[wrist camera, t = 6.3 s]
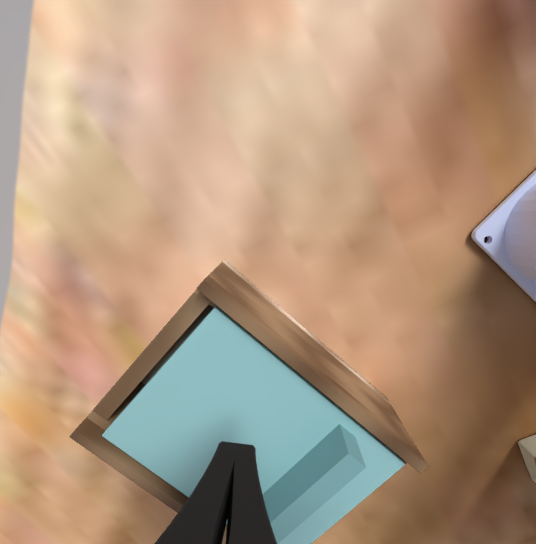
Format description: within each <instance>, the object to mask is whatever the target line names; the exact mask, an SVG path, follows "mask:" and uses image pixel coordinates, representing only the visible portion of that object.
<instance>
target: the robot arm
mask: <svg viewBox="0 0 536 544" xmlns="http://www.w3.org/2000/svg"><path fill="white" fill-rule="evenodd" d="M471 236H472V239H473V240H474V241H475V242H476V243H477V244H478V245H479V246H480V247H481V248H482V249H483V250H484V251H485V252H486V253H487V254H488V255H489V256H490V257H491V258H492V259H493V260H494V261H495V262H496V263H497V264H498V265H499V266H500V267H501V268H502V269H503V270H504V271H505V272H506V273H507V274H508V275H509V276H510V277H511V278H512V279H513V280H514V281H515V282H516V283H517V284H518V285H519V286H520V287H521V288H522V289H523V290H524V291H525V292H526V293H527V294H528V295H529V296H530V297H531V298H532V299H533V300H534V301H535V302H536V170H535V171H534V172H533V173H532V174H531V175H530V176H529V177H528V178H527V179H525V180H524V181H523V182H522V183H521V184H520V185H519V186H518V187H517V188H516V189H515V190H514V191H513V192H512V193H511V194H510V195H509V196H508V197H507V198H506V199H505V200H504V201H503V202H502V203H501V204H500V205H499V206H498V207H497V208H496V209H495V210H494V211H493V212H492V213H490V214H489V215H488V216H487V217H486V218H485V219H484V220H483V221H482V222H481V223H480V224H479V225H478V226H477V227H476V228H475V229H474V230H473V232H472V235H471ZM485 237H487V238H488V240H487V242H486V243H484V238H485ZM226 523H227V532H226V544H277V542H276V539H275V536H274V533H273V530H272V527H271V523H270V520H269V517H268V513H267V510H266V506H265V502H264V498H263V494H262V490H261V486H260V481H259V476H258V470H257V463H256V448H255V447H254V446H253V445H248V444H240V443H233V442H225V441H222V442H220V443H219V444H218V447H217V449H216V452H215V454H214V456H213V458H212V460H211V462H210V464H209V465H208V467H207V469H206V471H205V473H204V474H203V476H202V478H201V479H200V481H199V482H198V484H197V486H196V487H195V489H194V491H193V492H192V494H191V495H190V497H189V498H188V500H187V501H186V502H185V504H184V505H183V507H182V508H181V510H180V511H179V513H178V514H177V515H176V517H175V518H174V519H173V521H172V522H171V524H170V525H169V526H168V527H167V529H166V530H165V531H164V533H163V534H162V535H161V536H160V538H159V539H158V540H157V541H156V543H155V544H222V541H223V536H224V532H225V527H226Z"/></svg>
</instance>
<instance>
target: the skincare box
mask: <svg viewBox="0 0 536 544" xmlns="http://www.w3.org/2000/svg"><path fill="white" fill-rule="evenodd" d="M518 444H519V447H520V450H521V453H522V456H523V459H524V461H525V464H526V466H527V469H528V471H529V474H530V476H531V479H532V480H533V481H534V483H535V484H536V434H535V435H532V436H530V437H527V438H524V439H522V440H519V441H518Z"/></svg>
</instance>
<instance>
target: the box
mask: <svg viewBox="0 0 536 544" xmlns="http://www.w3.org/2000/svg"><path fill="white" fill-rule="evenodd" d="M216 305H217V306H218V307H219V308H221V309H222V310H223V311H224V312H225V313H227V314H228V315H229V316H230V317H231V318H233V319H234V320H235V321H236V322H237V323H239V324H240V325H241V326H242V327H244V328H245V329H246V330H247V331H248V332H250V333H251V334H252V335H253V336H254V337H256V338H257V339H258V340H259V341H261V342H262V343H263V344H264V345H265V346H267V347H268V348H269V349H270V350H271V351H273V352H274V353H275V354H276V355H278V356H279V357H280V358H281V359H282V360H284V361H285V362H286V363H287V364H288V365H290V366H291V367H292V368H293V369H294V370H296V371H297V372H298V373H299V374H301V375H302V376H303V377H304V378H305V379H307V380H308V381H309V382H310V383H311V384H313V385H314V386H315V387H316V388H318V389H319V390H320V391H321V392H322V393H324V394H325V395H326V396H327V397H328V398H330V399H331V400H332V401H333V402H334V403H336V404H337V405H338V406H339V407H341V408H342V409H343V410H344V411H345V412H347V413H348V414H349V415H350V416H351V417H353V418H354V419H355V420H356V421H358V422H359V423H360V424H361V425H362V426H364V427H365V428H366V429H367V430H368V431H370V432H371V433H372V434H373V435H375V436H376V437H377V438H378V439H379V440H381V441H382V442H383V443H384V444H385V445H387V446H388V447H389V448H390V449H391V450H393V451H394V452H395V453H396V454H398V455H399V456H400V457H401V458H402V459H403V461H404V463H405V464H406V463H408V464H410V465H411V466H412V467H413V468H415V469H416V470H417V471H418V472H419V473H422V472H423V471H424V470H425V469H426V468H428V465H427V463H426V462H425V460H424V458H423V457H422V455H421V453H420V452H419V450H418V448H417V447H416V445H415V444H414V442H413V440H412V439H411V437H410V435H409V434H408V432H407V430H406V429H405V427H404V425H403V424H402V422H401V420H400V419H399V417H398V416H397V414H396V412H395V411H394V409H393V407H392V406H391V404H390V402H389V401H388V399H387V398H386V397H385V396H384V395H383V394H381V393H380V392H379V391H378V390H377V389H376V388H374V387H373V386H372V385H371V384H370V383H368V382H367V381H366V380H365V379H364V378H363V377H361V376H360V375H359V374H358V373H357V372H356V371H354V370H353V369H352V368H351V367H350V366H349V365H347V364H346V363H345V362H344V361H343V360H342V359H340V358H339V357H338V356H337V355H336V354H334V353H333V352H332V351H331V350H330V349H329V348H327V347H326V346H325V345H324V344H323V343H322V342H320V341H319V340H318V339H317V338H316V337H315V336H313V335H312V334H311V333H310V332H309V331H308V330H306V329H305V328H304V327H303V326H302V325H300V324H299V323H298V322H297V321H296V320H295V319H293V318H292V317H291V316H290V315H289V314H288V313H286V312H285V311H284V310H283V309H282V308H281V307H279V306H278V305H277V304H276V303H275V302H274V301H272V300H271V299H270V298H269V297H268V296H266V295H265V294H264V293H263V292H262V291H261V290H259V289H258V288H257V287H256V286H255V285H254V284H252V283H251V282H250V281H249V280H248V279H247V278H245V277H244V276H243V275H242V274H241V273H240V272H238V271H237V270H236V269H235V268H234V267H232V266H231V265H230V264H229V263H228V262H227V261H225V260H224V261H223V262H222V263H221V264H220V265H219V266H218V267H217V268H216V269H215V270H214V271H213V272H211V273H210V274H209V275H208V276H207V277H206V278H205V279H204V280H203V282H202V283H201V284H200V285H199V286H198V287H197V289H196V291H195V292H194V293H193V294H192V295H191V296H190V298H189V299H188V300H187V301H186V302H185V303H184V305H183V306H182V307H181V308H180V309H179V310H178V312H177V313H176V314H175V315H174V316H173V317H172V319H171V320H170V321H169V322H168V323H167V324H166V326H165V327H164V328H163V329H162V330H161V331H160V332H159V334H158V335H157V336H156V337H155V338H154V339H153V341H152V342H151V343H150V344H149V345H148V346H147V348H146V349H145V350H144V351H143V352H142V353H141V355H140V356H139V357H138V358H137V359H136V360H135V362H134V363H133V364H132V365H131V366H130V367H129V369H128V370H127V371H126V372H125V373H124V374H123V376H122V377H121V378H120V379H119V380H118V381H117V383H116V384H115V385H114V386H113V387H112V388H111V390H110V391H109V392H108V393H107V394H106V395H105V397H104V398H103V399H102V400H101V401H100V402H99V404H98V405H97V406H96V407H95V408H94V409H93V411H92V412H91V413H90V414H89V415H88V416H87V417H86V419H85V420H84V421H83V422H82V423H81V424H80V425H79V426H78V427H77V428H76V430H75V431H74V432H73V433H72V434H71V435H70V438H72V439H73V440H74V441H76V442H77V443H79V444H80V445H82V446H83V447H84V448H86V449H87V450H89V451H90V452H92V453H93V454H94V455H96V456H97V457H99V458H100V459H102V460H103V461H104V462H106V463H107V464H109V465H110V466H112V467H113V468H115V469H116V470H117V471H119V472H120V473H122V474H123V475H125V476H126V477H127V478H129V479H130V480H132V481H133V482H135V483H136V484H137V485H139V486H140V487H142V488H143V489H145V490H146V491H147V492H149V493H150V494H152V495H153V496H155V497H156V498H157V499H159V500H160V501H162V502H163V503H165V504H166V505H167V506H169V507H170V508H172V509H173V510H175V511H176V512H178V513H179V511H180V510H181V508H182V507H183V505H184V504H185V502H186V501H187V500H188V498H189V497H187V496H186V495H184V494H183V493H182V492H180V491H179V490H177V489H176V488H175V487H173V486H172V485H170V484H169V483H168V482H166V481H165V480H163V479H162V478H161V477H159V476H158V475H156V474H155V473H153V472H152V471H151V470H149V469H148V468H146V467H145V466H144V465H142V464H141V463H139V462H138V461H137V460H135V459H134V458H132V457H131V456H130V455H128V454H127V453H125V452H124V451H123V450H121V449H120V448H118V447H117V446H115V445H114V444H113V443H111V442H110V441H108V440H107V439H106V438H104V437H103V436H102V434H103V433H104V432H105V431H106V429H107V428H108V427H109V426H110V425H111V423H112V422H113V421H114V420H115V419H116V418H117V417H118V415H119V414H120V413H121V412H122V411H123V410H124V409H125V408H126V406H127V405H128V404H129V403H130V402H131V401H132V400H133V399H134V397H135V396H136V395H137V394H138V393H139V392H140V391H141V390H142V388H143V387H144V386H145V385H146V384H147V383H148V382H149V380H150V379H151V378H152V377H153V376H154V375H155V374H156V373H157V371H158V370H159V369H160V368H161V367H162V366H163V365H164V364H165V362H166V361H167V360H168V359H169V358H170V357H171V356H172V354H173V353H174V352H175V351H176V350H177V349H178V348H179V347H180V345H181V344H182V343H183V342H184V341H185V340H186V339H187V338H188V336H189V335H190V334H191V333H192V332H193V331H194V330H195V329H196V327H197V326H198V325H199V324H200V323H201V322H202V321H203V319H204V318H205V317H206V316H207V315H208V314H209V313H210V312H211V310H212V309H213V308H214V307H215V306H216ZM226 532H227V524H226V527H225V532H224V536H223V541H222V544H226Z"/></svg>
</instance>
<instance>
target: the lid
mask: <svg viewBox="0 0 536 544" xmlns="http://www.w3.org/2000/svg"><path fill="white" fill-rule="evenodd" d="M102 436H103V437H104V438H106V439H107V440H108V441H110V442H111V443H113V444H114V445H115V446H117V447H118V448H120V449H121V450H123V451H124V452H125V453H127V454H128V455H130V456H131V457H132V458H134V459H135V460H137V461H138V462H139V463H141V464H142V465H144V466H145V467H146V468H148V469H149V470H151V471H152V472H153V473H155V474H156V475H158V476H159V477H161V478H162V479H163V480H165V481H166V482H168V483H169V484H170V485H172V486H173V487H175V488H176V489H177V490H179V491H180V492H182V493H183V494H184V495H186V496H187V497H190V495H191V494H192V492H193V491H194V489H195V487H196V486H197V484H198V482H199V481H200V479H201V478H202V476H203V474H204V473H205V471H206V469H207V467H208V465H209V464H210V462H211V460H212V458H213V456H214V454H215V452H216V449H217V447H218V444H219V443H220V442H222V441H225V442H233V443H240V444H248V445H253V446H254V447H255V448H256V463H257V470H258V476H259V481H260V486H261V490H262V494H263V498H264V502H265V506H266V510H267V513H268V517H269V520H270V523H271V527H272V530H273V533H274V536H275V539H276V542H277V544H311V543H313V542H314V541H315V540H316V539H317V538H318V537H320V536H321V535H322V534H323V533H324V532H326V531H327V530H328V529H329V528H330V527H332V526H333V525H334V524H335V523H336V522H338V521H339V520H340V519H341V518H342V517H343V516H345V515H346V514H347V513H348V512H349V511H351V510H352V509H353V508H354V507H355V506H357V505H358V504H359V503H360V502H361V501H362V500H364V499H365V498H366V497H367V496H368V495H370V494H371V493H372V492H373V491H374V490H376V489H377V488H378V487H379V486H380V485H381V484H383V483H384V482H385V481H386V480H387V479H389V478H390V477H391V476H392V475H393V474H395V473H396V472H397V471H398V470H399V469H401V468H402V467H403V466H404V465H405V463H404V461H403V459H402V458H401V457H400V456H399V455H398V454H396V453H395V452H394V451H393V450H391V449H390V448H389V447H388V446H387V445H385V444H384V443H383V442H382V441H381V440H379V439H378V438H377V437H376V436H375V435H373V434H372V433H371V432H370V431H368V430H367V429H366V428H365V427H364V426H362V425H361V424H360V423H359V422H358V421H356V420H355V419H354V418H353V417H351V416H350V415H349V414H348V413H347V412H345V411H344V410H343V409H342V408H341V407H339V406H338V405H337V404H336V403H334V402H333V401H332V400H331V399H330V398H328V397H327V396H326V395H325V394H324V393H322V392H321V391H320V390H319V389H318V388H316V387H315V386H314V385H313V384H311V383H310V382H309V381H308V380H307V379H305V378H304V377H303V376H302V375H301V374H299V373H298V372H297V371H296V370H294V369H293V368H292V367H291V366H290V365H288V364H287V363H286V362H285V361H284V360H282V359H281V358H280V357H279V356H278V355H276V354H275V353H274V352H273V351H271V350H270V349H269V348H268V347H267V346H265V345H264V344H263V343H262V342H261V341H259V340H258V339H257V338H256V337H254V336H253V335H252V334H251V333H250V332H248V331H247V330H246V329H245V328H244V327H242V326H241V325H240V324H239V323H237V322H236V321H235V320H234V319H233V318H231V317H230V316H229V315H228V314H227V313H225V312H224V311H223V310H222V309H221V308H219V307H218V306H217V305H216V306H215V307H214V308H213V309H212V310H211V312H210V313H209V314H208V315H207V316H206V317H205V318H204V319H203V321H202V322H201V323H200V324H199V325H198V326H197V327H196V329H195V330H194V331H193V332H192V333H191V334H190V335H189V336H188V338H187V339H186V340H185V341H184V342H183V343H182V344H181V345H180V347H179V348H178V349H177V350H176V351H175V352H174V353H173V354H172V356H171V357H170V358H169V359H168V360H167V361H166V362H165V364H164V365H163V366H162V367H161V368H160V369H159V370H158V371H157V373H156V374H155V375H154V376H153V377H152V378H151V379H150V380H149V382H148V383H147V384H146V385H145V386H144V387H143V388H142V390H141V391H140V392H139V393H138V394H137V395H136V396H135V397H134V399H133V400H132V401H131V402H130V403H129V404H128V405H127V406H126V408H125V409H124V410H123V411H122V412H121V413H120V414H119V415H118V417H117V418H116V419H115V420H114V421H113V422H112V423H111V425H110V426H109V427H108V428H107V429H106V431H105V432H104V433H103V434H102ZM226 524H227V523H226Z"/></svg>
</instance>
